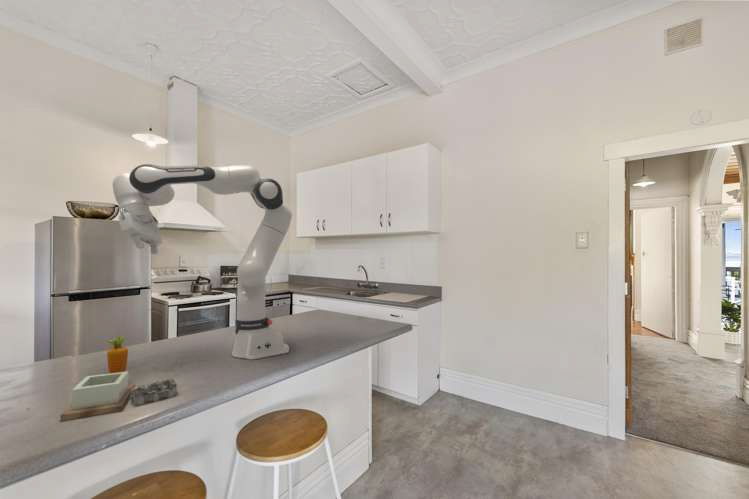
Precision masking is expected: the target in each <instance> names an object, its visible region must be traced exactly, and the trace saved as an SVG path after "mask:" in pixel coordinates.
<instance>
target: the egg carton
mask: <svg viewBox="0 0 749 499" xmlns="http://www.w3.org/2000/svg"><path fill="white" fill-rule="evenodd" d="M177 388H178V383H177V382H176V380H175V378H174V376H172V377H170V378H166V379H165V380H164V379H163V380H157V381H154V382H150V383H147V384H138V385H135V387H134V388H133V389H132V390H131V393H132V394H131V397H130V399H131V402H132V405H133V406H136V405H137V406H142V405H144V404H145V403H149V402H157V401H159V400H161V399H163V398H167V399H171V398H173V397H174V396H176V395H177V390H178V389H177Z"/></svg>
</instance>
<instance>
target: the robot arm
mask: <svg viewBox="0 0 749 499" xmlns="http://www.w3.org/2000/svg"><path fill="white" fill-rule="evenodd" d="M183 184H184V185H185V184H196V185H199V186H202V187H204V188H205V189H207V190H208V191H210V192H211V193H214V194H216V195H218V196H219V195H221V196H222V195H224V196H225V195H226V196H229V195H233V194H239V193H248V194H250V195H251V197H252V200H254V202H255V204H256V205H257V206H258V207H259V208H261V209H264V215H263V217H262V220H261V222H260V224H259V226H258V228H257V229H256V232H255V233H254V235H253V238H252V240H251V241H250V244H249V245H248V247H247V249H246V250H245V252H244V255H243V256H242V258H241V260H240V262H239V264H238V266H237V269H236V277H237V294H236V319H235V321H234V333H235V337H234V344H233V347H232V350H231V351H232V352H231V356H232V357H234V358H239V359H245V360H256V359H257V360H258V359H261V358H262V359H263V358H267V357H268V358H269V357H274V356H278V355H284V354H287V353H289V352H290V347H289V345H288V344H287V343H285V342H284V337H283V335H282V333H281V332H280V331H278V330H276V329H275V328H274V327H272V326H271V325H273V320H272V319H271V318H269V317H266V277H267V274H268V272H269V270H270V268H271V266H272V264H273V262H274V259H275V257H276V255H277V253H278V251H279V249H280V246H281V245H282V243H283V241H284V239H285V237H286V235H287V232H288V230H289V228H290V224H291V222H292V218H293V213H292V210H290V209H289V208H288V207H287V206H285V205H284V199H283V196H284V195H283V189H282V186H281V185H280V184H279V182H278V181H277V180H274V179H273V178H268V177H267V178H263V179H262V178H261V175H260V173H259V171H258V170H257V168H256V167H255V166H253V165H249V164H248V165H247V164H237V165H233V164H232V165H223V166H207V165H176V166H175V165H174V166H173V165H172V166H162V165H161V166H160V165H156V164H150V163H149V164H148V163H144V164H140V165H138V166H136V167H135V168H133V169H132V170H131V172H127V173H126V172H125V173H121V174H118V175H117V176H115V178H114V179H113V180H112V190H113V195H114V198H115V201H116V202H117V204H118V207H119V208H118V212H119V215H118V224H119V226H120V230H121V231H122V233H123V234H124V235H126V236H128V237H130V238H131V240H132V241H133V243H134V244H135V247H136V248H137V249H139V250H142V249H145V244H146V245H148V246H149V248H150V249H149V250H150V253H151V254H152V255H157V254H159V250H158V246H159V245H161V244H163V239H162V234H161V232H160V228H159V220H158V219H157V218H156V217H155V216H154V215H153V213H152V211H151V210H150V207H157V206H164V205H167V204H169V203H170V202H171V201H172V200H173V199H174V197H175V191H174V188H173V185H183Z"/></svg>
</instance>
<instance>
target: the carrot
mask: <svg viewBox="0 0 749 499" xmlns="http://www.w3.org/2000/svg"><path fill="white" fill-rule="evenodd" d="M124 339H125V338H124V337H123V335H122V334H119V335H117V339H116V338H114V339H113V340H112V339H108V341H107V342H108V343H109V344H111V345H113V347H111V348H110V349H109V350H108V351H107V354H106V355H107V356H106V357H107V368H108V372H109V373H108V374H110V373H118V372H126V370H127V365H128V357H129V356H128V355H129V349H128V348H127V347H126V346H122V343H123V341H124ZM117 340H118V341H117Z"/></svg>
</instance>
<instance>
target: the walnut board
mask: <svg viewBox="0 0 749 499" xmlns="http://www.w3.org/2000/svg"><path fill="white" fill-rule="evenodd" d="M134 387H136V384H130V385H129V384H128V389H127V391H126V392H125V394H124V395H123V397H122V398H121V399H120V401H119V402H118V403H112V404H105V405H99V406H93V407H86V408H80V409H73V410H72V403H70V405H69V406H68V407H66V409H65V410H64V411H63V412H62V413H61V414H60V422H65V421H70V420H75V419H76V420H77V419H83V418H84V419H85V418H89V417H95V416H101V415H107V414H112V413H118V412H119V413H120V412H123V410H124V408H125V407H126V406H127V404H128V402H129V401H130V399H131V394H132V393H131V390H132V389H133V388H134Z"/></svg>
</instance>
